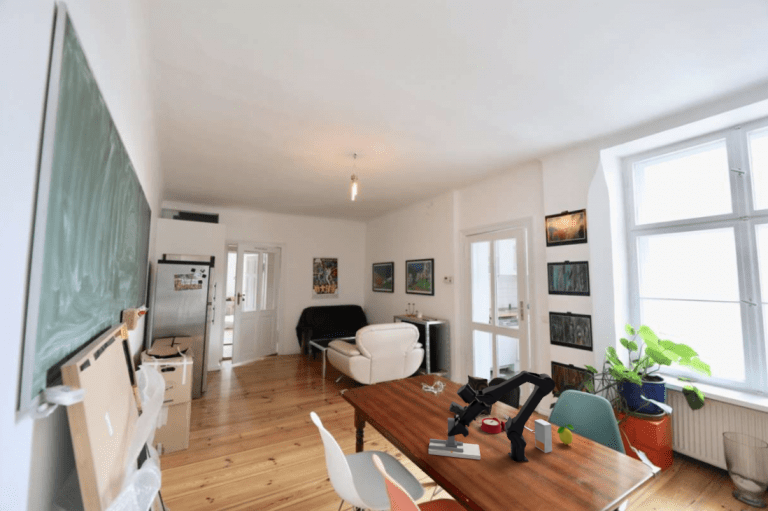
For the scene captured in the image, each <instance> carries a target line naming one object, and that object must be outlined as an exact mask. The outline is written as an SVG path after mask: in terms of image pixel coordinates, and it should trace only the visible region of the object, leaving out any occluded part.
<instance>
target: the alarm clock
mask: <svg viewBox="0 0 768 511" xmlns="http://www.w3.org/2000/svg"><path fill="white" fill-rule="evenodd" d="M505 422H506V421H503V420H499V418H497V417H494V416H493V417H492V418H491V417H485V418H482V419H481V425H480V430H481V432H485V433H488V434H492V435H493V434H495V435H496V434H501V433H502V430H503V431H504V432H505V428H504V427H505ZM476 424H479V422H476Z"/></svg>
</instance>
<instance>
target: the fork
mask: <svg viewBox="0 0 768 511" xmlns="http://www.w3.org/2000/svg"><path fill="white" fill-rule="evenodd" d="M502 416H503V417H504V418H505V419H506V421H507V420H508V418H509V416H508V415H507V414H506V413H505V414H502ZM524 428H525V429H527V430H528V431H530V432H532V431H534V430H533V429H531V428H529V427H527V426H526V425H525V426H524Z"/></svg>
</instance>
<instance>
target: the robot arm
mask: <svg viewBox="0 0 768 511" xmlns="http://www.w3.org/2000/svg"><path fill="white" fill-rule="evenodd" d="M526 383H528V384H532V385H534V386H533V390H532V392H531V393H530V395H529V396H528V398H527V399H526V401H525V402H524V403H523V405H522V406H521V408H520V410H519V411H518V412H517V413H516V414H515V416H514V417H511V416H510V415H509V416H508V420H507V419H506V421H504V422H505V427H504V428H505V431H504V432H505V435H506V437H507V439H508V441H510V452H507V456H509V458H510V459H511V460H512V461H513V462H529V459H528V458H527V456H526V449H525V448H526V446H527V444H528V443H527V441H526V439H525V437H524V435H523V434H524V428H525V427H524V426H526V423H527V422H528V420H529V419H530V417H532V415H533V413H534V411H535V410H536V409H537V407H538V406H539V404H540V403H541V401H542V400H543V399H544V398H545V397H547V396H548V395H550V394H551V393H552V392H553V391H554V390H555V389H556V382H555V380H554V378H552V377H551V376H550V375H549V374H547V373H538V372H532V371H527V370H522V371H520V372H519V373H517V374H516V375H514V376H512V377H509V378H508V379H506V380H504V381H502V382H501V383H499V384H497V385H496V384H495V385H490V386H489V387H487V388H484V389H483V390H475V391H474V390H473V389H472V388H471V387H470V385H469V384H468V382H467V383H465V384H463V385H461V386H460V387H459V388H458V390H456V395H457V396H459V397H460V399H461V400H462V401H463V402H464V403H465V405H464V406H462V405H460V404H459V403H457V402H455V401H453V400H452V401H451V402H450V405H449V410H448V411H449V412H451V413H453V418H455V421H454V426H453V428H452V429H451V430H450V432H449V433H448V432H447V437H448V436H449V437H450V436H454V435H455V436H458V435H462V436H463V437H464V438H467V437H468V436H469V432H470V431H469V427H470V426H471V425H470V424H471V423H472V422H473V421H474V422H476V421H477V418H478V417H479V416H480V415H481V413H482V412H483V411H484V410H486V411H487V412H488V413H490V412H489V408H490V406H489V405H492V406H493V405H495V403H497V402H498V401H499V400H500V399H501V398H502V397H503V396H504V395H505V394H508V393H509V392H511V391H513V390H515V389H517V388H519V387H521V386H523V385H524V384H526ZM474 399H475V400H474ZM473 400H474V401H473ZM472 401H473V402H472ZM471 402H472V403H471ZM469 403H471V404H469ZM466 404H468V405H466ZM486 404H487V405H486Z"/></svg>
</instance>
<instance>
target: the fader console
mask: <svg viewBox="0 0 768 511" xmlns="http://www.w3.org/2000/svg"><path fill="white" fill-rule="evenodd" d="M446 440H447V439H436V438H429V445H428V455H435V456H436V455H437V456H443V457H454V458H461V459H462V458H463V459H470V460H471V459H472V460H479V461H480V460H481V452H480V445H479V444H476V443H475V444H474V443H464V441H458V440H456V441H457V448H454V447H446Z"/></svg>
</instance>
